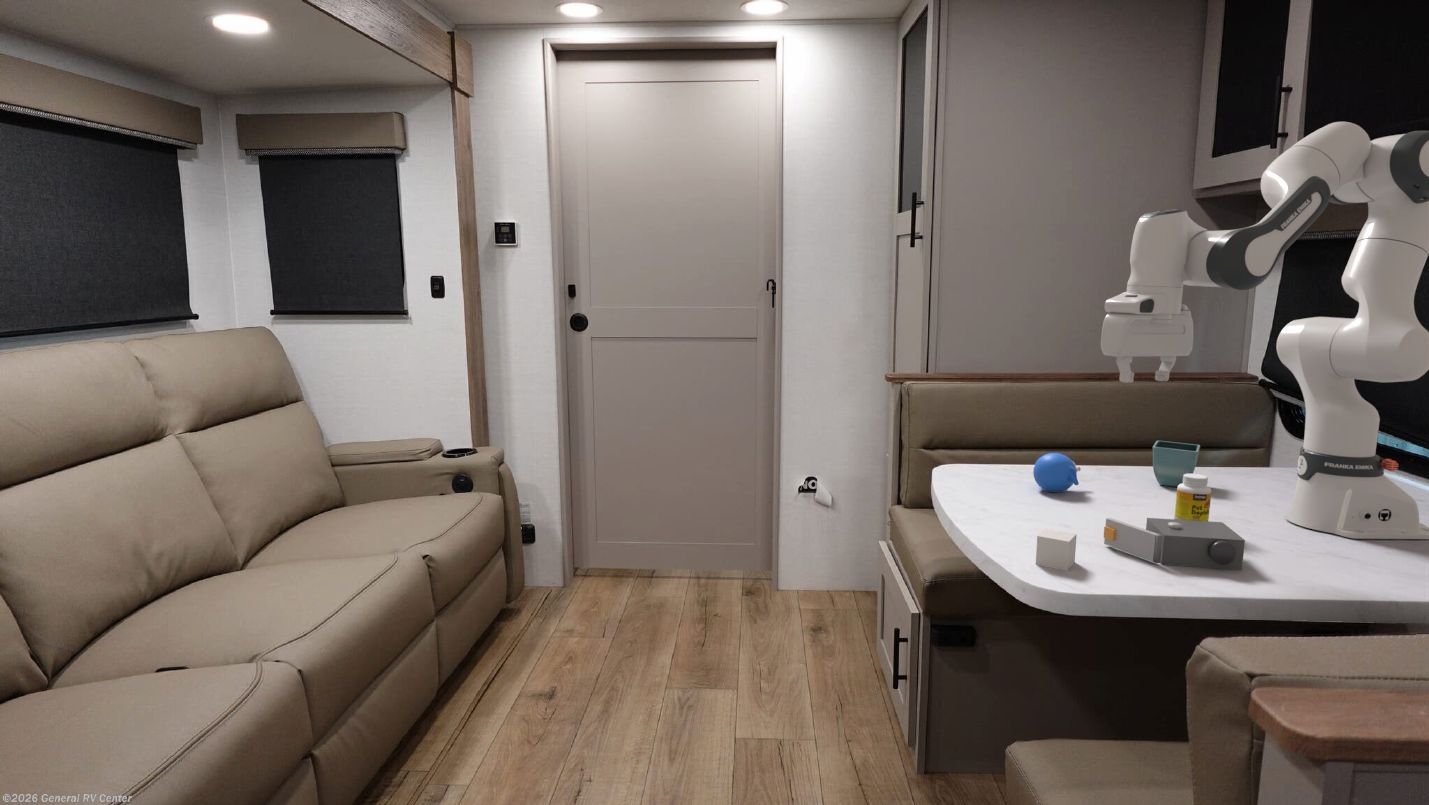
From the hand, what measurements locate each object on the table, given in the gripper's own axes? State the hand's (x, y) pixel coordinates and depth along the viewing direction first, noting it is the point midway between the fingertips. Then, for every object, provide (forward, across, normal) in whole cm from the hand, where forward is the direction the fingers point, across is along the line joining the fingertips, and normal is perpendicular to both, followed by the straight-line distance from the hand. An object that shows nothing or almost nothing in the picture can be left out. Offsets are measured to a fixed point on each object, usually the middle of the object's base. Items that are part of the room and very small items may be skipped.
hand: (1144, 381), depth 153 cm
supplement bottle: (+28, -13, +3) cm, 31 cm away
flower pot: (+27, -41, -20) cm, 53 cm away
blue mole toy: (+28, -14, -28) cm, 42 cm away
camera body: (+28, +1, +13) cm, 31 cm away
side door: (+28, +10, +8) cm, 31 cm away
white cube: (+29, +24, +5) cm, 38 cm away
